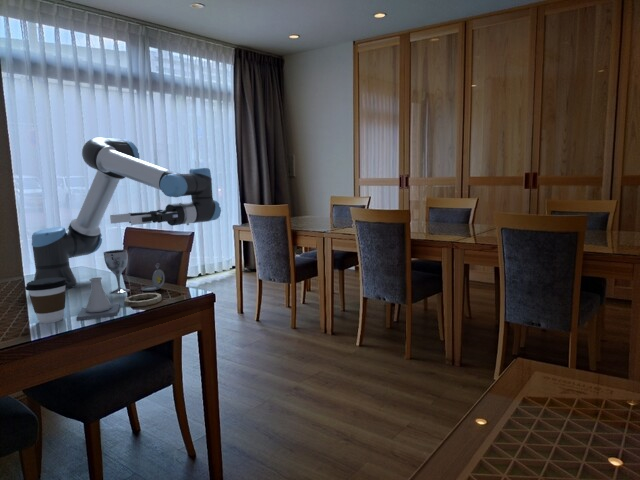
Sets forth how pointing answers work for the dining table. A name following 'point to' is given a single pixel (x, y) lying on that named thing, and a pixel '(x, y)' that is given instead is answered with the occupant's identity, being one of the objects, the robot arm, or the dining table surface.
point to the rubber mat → (98, 313)
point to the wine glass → (116, 266)
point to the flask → (97, 297)
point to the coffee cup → (48, 298)
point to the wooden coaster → (132, 303)
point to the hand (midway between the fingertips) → (120, 220)
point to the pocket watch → (156, 280)
